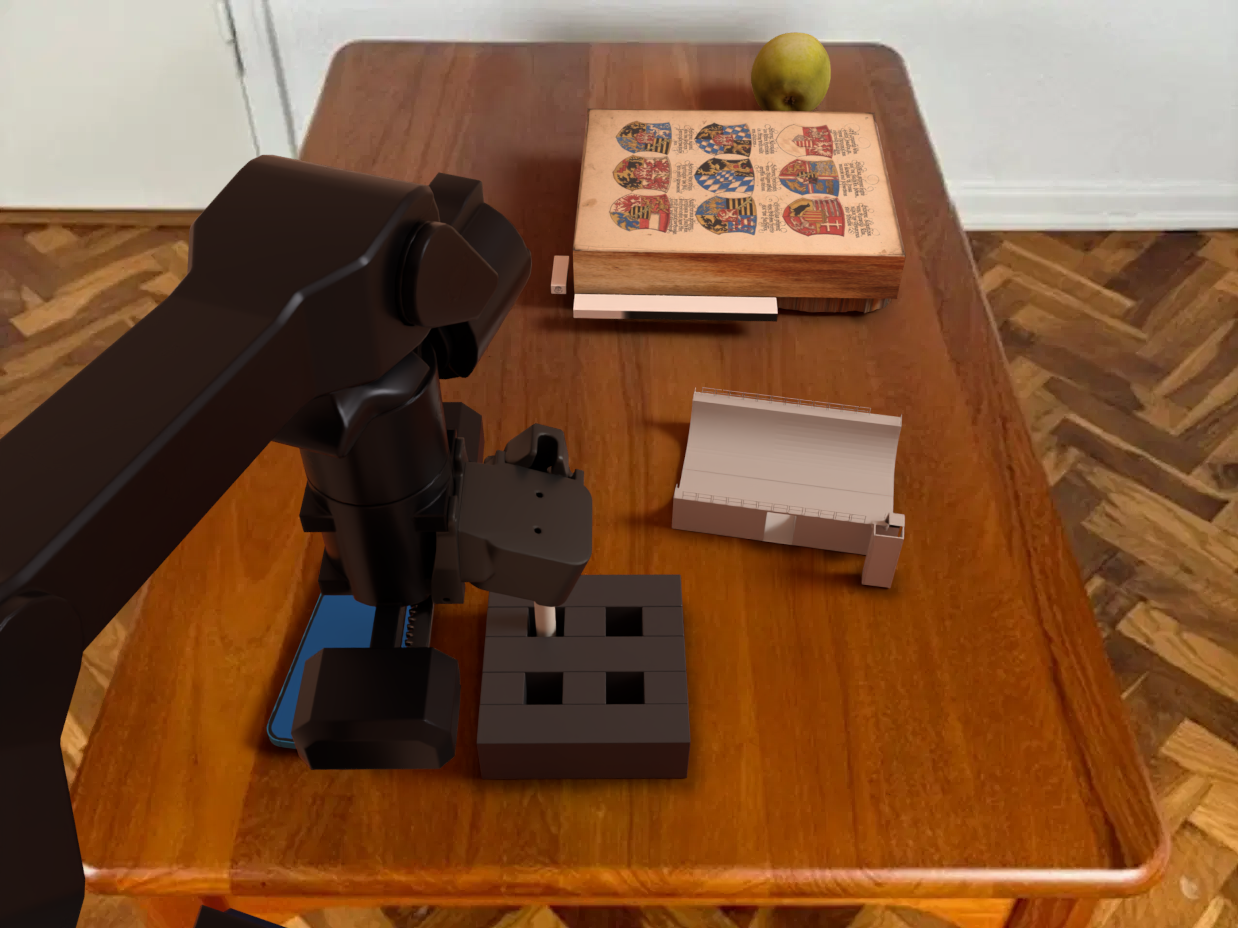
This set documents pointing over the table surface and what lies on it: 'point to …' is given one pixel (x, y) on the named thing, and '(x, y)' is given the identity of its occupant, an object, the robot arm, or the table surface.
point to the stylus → (545, 621)
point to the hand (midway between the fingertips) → (421, 673)
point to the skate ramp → (793, 477)
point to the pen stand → (587, 684)
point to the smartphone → (329, 627)
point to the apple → (791, 73)
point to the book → (731, 216)
